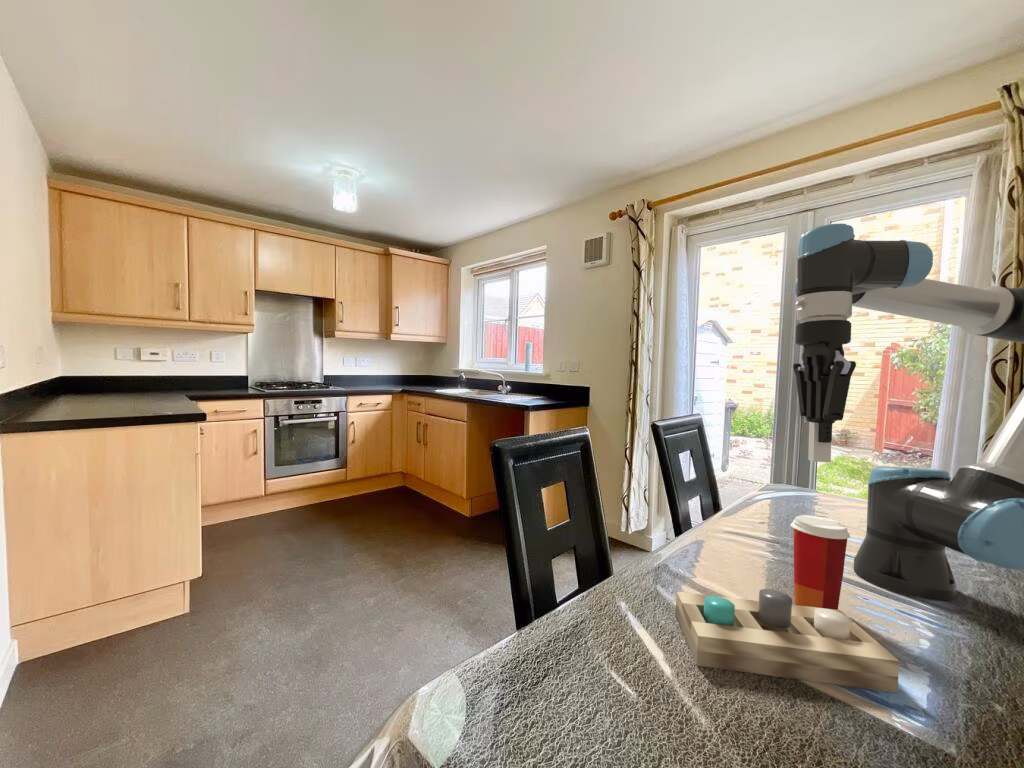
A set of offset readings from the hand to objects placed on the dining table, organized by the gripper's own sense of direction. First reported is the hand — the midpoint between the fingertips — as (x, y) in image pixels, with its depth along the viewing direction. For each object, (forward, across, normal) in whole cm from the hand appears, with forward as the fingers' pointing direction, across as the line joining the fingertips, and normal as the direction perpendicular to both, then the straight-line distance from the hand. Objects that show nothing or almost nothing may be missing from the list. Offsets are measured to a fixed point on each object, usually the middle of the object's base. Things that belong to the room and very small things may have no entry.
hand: (819, 460), depth 72 cm
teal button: (+23, +12, -20) cm, 33 cm away
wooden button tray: (+25, +12, -13) cm, 31 cm away
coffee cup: (+26, -1, +1) cm, 26 cm away
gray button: (+21, +12, -13) cm, 28 cm away
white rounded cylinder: (+23, +13, -5) cm, 27 cm away
